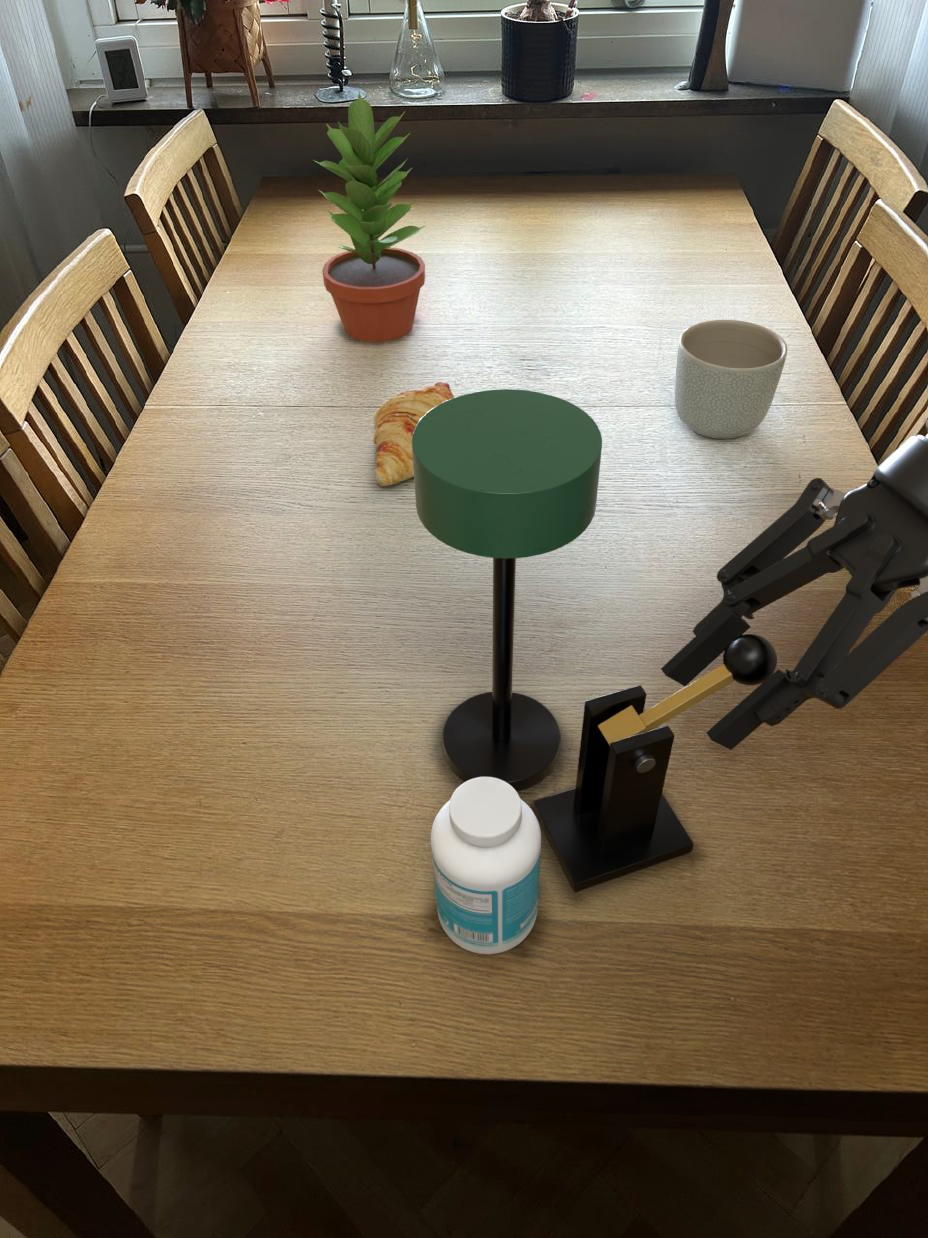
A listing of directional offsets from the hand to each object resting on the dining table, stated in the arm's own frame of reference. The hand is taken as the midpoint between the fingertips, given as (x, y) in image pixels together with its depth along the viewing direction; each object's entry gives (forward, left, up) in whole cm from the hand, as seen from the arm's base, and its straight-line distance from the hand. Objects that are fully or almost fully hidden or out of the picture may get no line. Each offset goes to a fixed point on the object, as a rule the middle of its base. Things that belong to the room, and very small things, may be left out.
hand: (695, 708), depth 66 cm
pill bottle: (-3, +17, -13) cm, 22 cm away
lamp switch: (0, 0, 0) cm, 0 cm away
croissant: (+58, +3, -13) cm, 59 cm away
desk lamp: (+11, +10, -13) cm, 20 cm away
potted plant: (+90, -2, -13) cm, 91 cm away
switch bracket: (0, +5, -13) cm, 14 cm away
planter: (+49, -34, -13) cm, 61 cm away
